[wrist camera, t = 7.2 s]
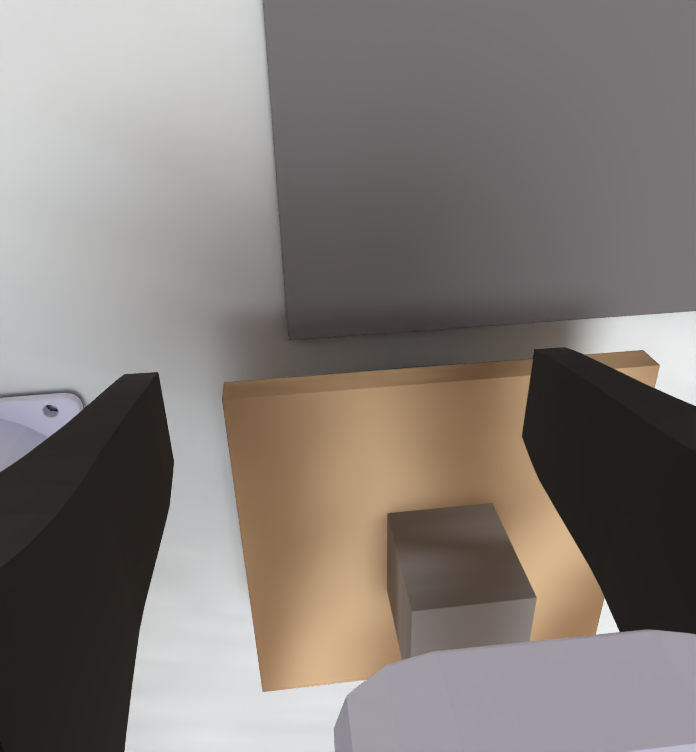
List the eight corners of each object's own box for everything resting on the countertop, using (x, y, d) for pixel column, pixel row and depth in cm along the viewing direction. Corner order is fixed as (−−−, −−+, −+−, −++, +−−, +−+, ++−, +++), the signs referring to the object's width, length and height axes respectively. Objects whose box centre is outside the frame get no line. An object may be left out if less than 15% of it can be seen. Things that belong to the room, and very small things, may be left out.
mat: (288, 335, 23) (288, 340, 23) (237, -338, 15) (236, -347, 14) (738, 303, 25) (744, 307, 24) (920, -325, 16) (934, -332, 16)
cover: (262, 668, 26) (262, 802, 21) (224, 382, 19) (213, 489, 15) (580, 632, 27) (642, 751, 22) (642, 350, 20) (746, 441, 16)
